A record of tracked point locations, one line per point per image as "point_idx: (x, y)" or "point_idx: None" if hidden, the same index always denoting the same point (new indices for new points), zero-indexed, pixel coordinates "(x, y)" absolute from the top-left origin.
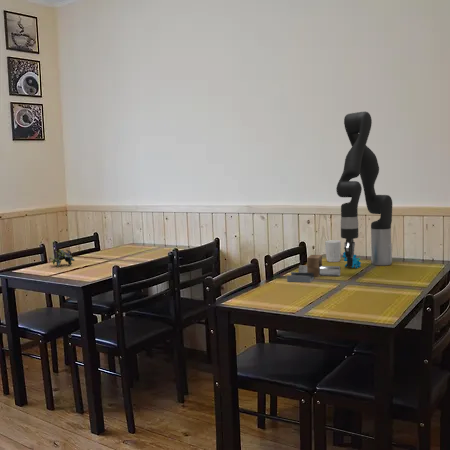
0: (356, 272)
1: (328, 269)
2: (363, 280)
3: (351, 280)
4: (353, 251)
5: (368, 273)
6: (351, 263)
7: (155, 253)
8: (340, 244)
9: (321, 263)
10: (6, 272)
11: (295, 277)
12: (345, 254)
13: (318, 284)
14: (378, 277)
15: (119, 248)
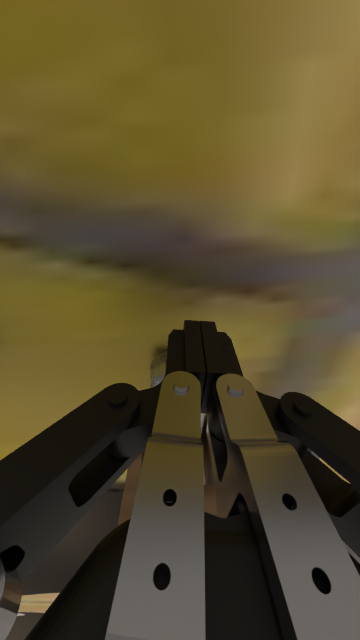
0: (62, 269)
1: (203, 419)
2: (330, 191)
3: (310, 278)
4: (250, 459)
5: (64, 166)
6: (217, 340)
7: (39, 597)
8: None
9: (140, 466)
10: None
11: None
12: (330, 482)
13: (357, 401)
14: (225, 21)
15: (27, 610)
